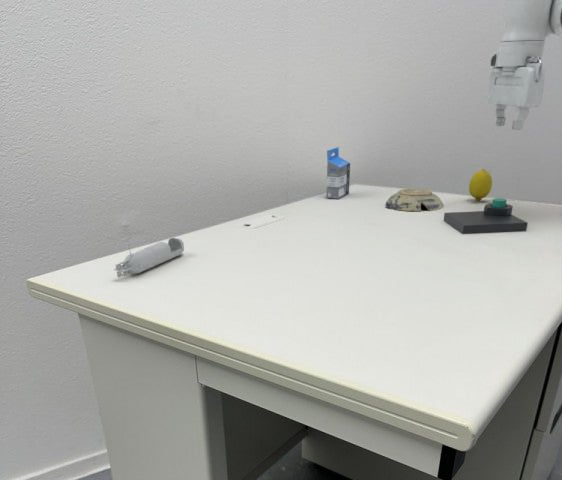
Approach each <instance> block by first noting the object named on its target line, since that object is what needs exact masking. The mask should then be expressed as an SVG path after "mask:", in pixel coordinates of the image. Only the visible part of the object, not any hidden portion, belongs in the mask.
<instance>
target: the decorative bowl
mask: <svg viewBox="0 0 562 480" xmlns="http://www.w3.org/2000/svg"><path fill="white" fill-rule="evenodd" d="M422 205H423V206H424V207H425V208H426V209H427V210H428V211H429V212H432V211H433V212H434V211H439V210H442V209H443V208H444V203H443V201H442V199H441V198H440V197H439V196H438V195H436V194H435V193H433V192H432V191H431V190H430V189H427V188H417V187H415V188H412V187H411V188H401V189H399V190H398V191H397V192H396V193H393V194H392V195H391V196H390V197H388V199H387V200H386V201H385V208H387V209H390V210H393V209H394V210H395V211H404V212H412V211H413V212H417V213H418V212H419V213H420V212H421V211H422Z"/></svg>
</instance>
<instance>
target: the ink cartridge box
mask: <svg viewBox="0 0 562 480" xmlns="http://www.w3.org/2000/svg"><path fill="white" fill-rule="evenodd" d="M339 150H340V149H339V146H337V147H334V148H331V149H328V150H326V158H327V160H326V161H327V165H326V166H327V167H326V196H325V197H326V199H333V200H339V199H342V198H343V197H344V196H346V195H348V194H350V179H351V177H350V176H351V162H349V161H348V160H346V159H344V158H342V157H341V156H340V155H339ZM333 154H334V155H333Z"/></svg>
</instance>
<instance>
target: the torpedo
mask: <svg viewBox="0 0 562 480" xmlns="http://www.w3.org/2000/svg"><path fill="white" fill-rule="evenodd" d="M126 239H127V244H128V250H129V254H128V255H127V256H125V258H124V260H123V261H120V262H119V263H117V264H115V268H114V269H113V271H116V276H117V278H121V277H123V276H126V275H128V274H130V275H137V274H140V273H143V272H145V271H148V270H149V269H152V268H154V267H156V266H158V265H161V264H163V263H165V262H167V261H170V260H171V259H174V258H177V257H178V256H181V255H182V254H183V253H184V252H185V244H184V241H183V240H182V239H181V238H180V237H171V238H169V239H168V241H167V242H164V241H160V242H157V243H154V244H152V245H149V246H147V247H145V248H143V249H139V250H137V251H135V252H131V246H130V240H129V239H130V238H129V237H127V238H126Z"/></svg>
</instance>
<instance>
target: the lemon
mask: <svg viewBox="0 0 562 480" xmlns="http://www.w3.org/2000/svg"><path fill="white" fill-rule="evenodd" d="M492 187H493V178H492V176H491V174H490V172H488V171H486V170H485V169H484V168H481V169H480V170H478V171H476V172H475V173H473V175H472V176H471V178H470V180H469V184H468V191H469V194H470V196H471V197H472V198H473V199H475V201H477V202H480V201H481V200H482V199H485V198H486V197H487V196H488V195H489V194H490V192H491V191H492Z"/></svg>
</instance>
